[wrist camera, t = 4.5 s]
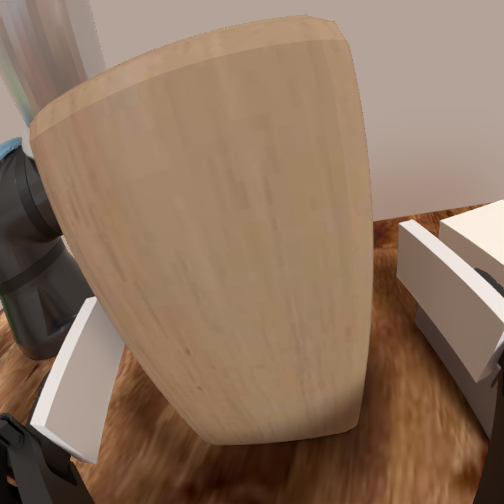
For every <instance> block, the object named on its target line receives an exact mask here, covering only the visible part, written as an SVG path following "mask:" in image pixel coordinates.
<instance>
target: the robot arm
mask: <svg viewBox="0 0 504 504" xmlns="http://www.w3.org/2000/svg"><path fill="white" fill-rule="evenodd" d="M106 70H107V68H106V65H105V61H104V57H103V54H102V50H101V46H100V43H99V39H98V35H97V31H96V26H95V22H94V18H93V14H92V9H91V5H90V1H89V0H0V75H1V77H2V79H3V81H4V83H5V85H6V87H7V89H8V91H9V93H10V95H11V97H12V99H13V101H14V103H15V105H16V107H17V108H18V110H19V112H20V114H21V116H22V117H23V119H24V121H25V123H26V127H25V130H24V133H23V137H22V138H21V137H17V138H13V139H11V140H8V141H6V142H4V143H2V144H0V300H1V302H2V305H3V308H4V312H5V315H6V318H7V320H8V323H9V326H10V328H11V331H12V333H13V337H14V340H15V342H16V343H17V345H18V346H19V347H20V349H21V350H22V351H23V353H24V354H25V355H26V356H27V357H29V358H31V359H35V360H41V359H47V358H50V357H53V356H55V355H57V358H56V360H55V362H54V364H53V367H52V368H51V369H50V370H49V372H48V373H47V374H46V376H45V377H44V380H43V382H42V384H41V389H39V392H38V394H37V395H38V397H36V399H35V402H34V404H33V407H32V410H31V412H30V415H29V418H28V421H27V424H26V426H25V427H24V426H23V425H22V424H20V423H19V422H18V421H17V420H16V419H15V418H14V417H12V416H11V415H10V414H9V413H3V414H1V415H0V504H95V503H94V501H93V499H92V497H91V496H90V494H89V492H88V490H87V488H86V486H85V484H84V482H83V481H82V479H81V477H80V474H79V472H78V470H77V468H76V466H75V465H74V463H73V462H71V461H70V458H71V455H72V456H73V457H75V458H76V459H78V460H79V461H81V462H85V463H91V464H97V459H98V453H99V448H100V443H101V438H102V433H103V428H104V424H105V419H106V415H107V410H108V406H109V402H110V398H111V394H112V390H113V386H114V382H115V379H116V375H117V371H118V368H119V364H120V361H121V357H122V354H123V350H124V347H125V343H124V341H123V340H122V338H121V337H120V335H119V334H118V332H117V331H116V329H115V328H114V326H113V324H112V323H111V321H110V320H109V318H108V316H107V315H106V313H105V312H104V310H103V308H102V307H101V305H100V303H99V301H98V300H97V298H96V296H95V295H94V293H93V291H92V289H91V288H90V286H89V284H88V282H87V280H86V278H85V277H84V275H83V273H82V271H81V269H80V267H79V265H78V263H77V261H76V259H75V258H74V257H73V256H72V255H71V254H70V253H69V252H68V250H67V249H66V247H65V245H64V243H63V241H62V238H61V236H62V235H64V234H63V232H62V230H61V228H60V225H59V223H58V221H57V218H56V216H55V214H54V211H53V209H52V206H51V204H50V201H49V199H48V196H47V194H46V191H45V188H44V186H43V183H42V180H41V177H40V174H39V172H38V169H37V166H36V163H35V159H34V156H33V153H32V150H31V146H30V143H29V137H30V123H31V122H32V121H33V119H34V118H35V116H36V115H37V114H38V113H39V112H40V111H41V110H42V109H43V108H44V107H45V106H46V105H47V104H49V103H50V102H51V101H53V100H54V99H56V98H58V97H59V96H61V95H62V94H64V93H66V92H67V91H69V90H71V89H72V88H74V87H76V86H78V85H79V84H81V83H83V82H85V81H87V80H88V79H90V78H92V77H94V76H96V75H98V74H100V73H102V72H104V71H106ZM396 277H397V278H398V279H399V280H400V281H401V283H402V284H403V285H404V286H405V287H406V289H407V290H408V291H409V292H410V293H411V295H412V296H413V297H414V298H415V300H416V301H417V302H418V303H419V305H420V306H421V307H422V308H423V310H424V311H425V312H426V313H427V315H428V316H429V317H430V319H431V320H432V321H433V323H434V324H435V325H436V326H437V328H438V329H439V330H440V332H441V333H442V334H443V336H444V337H445V339H446V340H447V341H448V343H449V344H450V345H451V347H452V348H453V350H454V351H455V352H456V354H457V355H458V357H459V358H460V360H461V361H462V363H463V364H464V365H465V367H466V368H467V370H468V371H469V373H470V374H471V376H472V377H473V379H474V381H475V382H476V383H477V382H479V381H480V380H482V379H483V378H485V377H486V376H488V375H489V374H491V373H492V371H493V369H494V367H495V366H496V364H497V363H498V364H499V365H500V367H501V369H500V370H499V372H498V373H497V375H496V377H495V378H494V380H493V381H492V384H491V387H490V388H493V387H494V385H495V384H496V382H497V381H498V386H497V387H496V388H497V398H496V407H495V414H494V421H493V427H492V433H491V438H490V443H489V448H488V453H487V457H486V461H485V465H484V469H483V473H482V476H481V479H480V483H479V486H478V489H477V492H476V495H475V498H474V501H473V504H504V288H503V287H502V286H501V285H500V284H499V283H497V281H496V280H495V279H494V278H493V277H492V276H491V275H489V274H488V273H487V272H485V271H483V270H481V269H479V268H475V269H473V268H472V267H471V266H469V265H468V264H467V263H466V262H465V261H464V260H463V259H461V258H460V257H459V256H458V255H457V254H456V253H454V252H453V251H452V250H451V249H450V248H448V247H447V246H446V245H445V244H444V243H442V242H441V241H440V240H439V239H437V238H436V237H435V236H434V235H432V234H431V233H430V232H429V231H427V230H426V229H425V228H423V227H422V226H421V225H419V224H418V223H417V222H416V221H414V220H410V221H406V222H402V223H399V240H398V261H397V276H396ZM7 476H8V477H10V478H12V479H13V480H15V481H16V483H17V487H15V486H13V485H12V484H10V483H8V482H7Z"/></svg>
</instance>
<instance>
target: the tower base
mask: <svg viewBox="0 0 504 504" xmlns="http://www.w3.org/2000/svg"><path fill="white" fill-rule="evenodd" d="M414 322H415V324H416V325H417V326H418V328H419V329H420V331H421V332H422V333H423V335H424V336H425V337H426V339H427V340H428V342H429V343H430V345H431V346H432V347H433V349H434V350H435V352H436V353H437V355H438V356H439V358H440V359H441V361H442V362H443V364H444V365H445V367H446V368H447V370H448V371H449V373H450V374H451V376H452V377H453V379H454V380H455V382H456V384H457V385H458V387H459V388H460V390H461V392H462V393H463V395H464V396H465V398H466V400H467V401H468V403H469V405H470V406H471V408H472V410H473V411H474V413H475V415H476V417H477V418H478V420H479V422H480V424H481V425H482V427H483V429H484V431H485V433H486V434H487V436H488V438H489V440H490V438H491V433H492V427H493V421H494V414H495V407H496V398H497V388H496V387H497V386H498V381H497V382H496V384H495V385H494V387H493V388H490V387H491V384H492V381H493V380H494V378H495V377H496V375H497V373H498V372H499V370H500V369H501V367H500V365H499V364H498V363H497V364H496V366H495V367H494V369H493V371H492V373H491V374H489V375H488V376H486V377H485V378H483V379H482V380H480V381H479V382H477V383H476V382H475V381H474V379H473V377H472V376H471V374H470V373H469V371H468V370H467V368H466V367H465V365H464V364H463V363H462V361H461V360H460V358H459V357H458V355H457V354H456V352H455V351H454V350H453V348H452V347H451V345H450V344H449V343H448V341H447V340H446V339H445V337H444V336H443V334H442V333H441V332H440V330H439V329H438V328H437V326H436V325H435V324H434V323H433V321H432V320H431V319H430V317H429V316H428V315H427V313H426V312H425V311H424V310H423V308H422V307H421V306H420V305H419V303H418V305H417V311H416V316H415V321H414Z"/></svg>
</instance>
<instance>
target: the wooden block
mask: <svg viewBox="0 0 504 504" xmlns="http://www.w3.org/2000/svg"><path fill="white" fill-rule="evenodd" d="M29 143H30V146H31V150H32V153H33V156H34V159H35V163H36V166H37V169H38V172H39V174H40V177H41V180H42V183H43V186H44V188H45V191H46V194H47V196H48V199H49V201H50V204H51V206H52V209H53V211H54V214H55V216H56V218H57V221H58V223H59V225H60V228H61V230H62V232H63V234H64V236H65V239H66V241H67V243H68V245H69V247H70V249H71V251H72V253H73V255H74V257H75V259H76V261H77V263H78V265H79V267H80V269H81V271H82V273H83V275H84V277H85V278H86V280H87V282H88V284H89V286H90V288H91V289H92V291H93V293H94V295H95V296H96V298H97V300H98V301H99V303H100V305H101V307H102V308H103V310H104V312H105V313H106V315H107V316H108V318H109V320H110V321H111V323H112V324H113V326H114V328H115V329H116V331H117V332H118V334H119V335H120V337H121V338H122V340H123V341H124V343H125V344H126V346H127V347H128V349H129V350H130V351H131V353H132V354H133V356H134V357H135V359H136V360H137V361H138V363H139V364H140V365H141V367H142V368H143V369H144V371H145V372H146V374H147V375H148V376H149V377H150V379H151V380H152V381H153V383H154V384H155V385H156V387H157V388H158V389H159V390H160V392H161V393H162V394H163V395H164V397H165V398H166V399H167V400H168V401H169V403H170V404H171V405H172V406H173V407H174V409H175V410H176V411H177V412H178V413H179V414H180V415H181V417H182V418H183V419H184V420H185V421H186V422H187V423H188V425H189V426H190V427H191V428H192V429H193V430H194V431H195V432H196V433H197V434H198V435H199V436H200V437H201V439H202V440H203V441H205V442H207V443H210V444H212V445H245V444H262V443H274V442H285V441H293V440H301V439H308V438H315V437H321V436H327V435H332V434H338V433H343V432H347V431H348V430H350V429H352V428H354V427H355V426H357V423H358V419H359V415H360V410H361V404H362V398H363V391H364V384H365V377H366V369H367V360H368V351H369V341H370V329H371V314H372V295H373V215H372V197H371V181H370V170H369V159H368V150H367V141H366V134H365V126H364V119H363V112H362V106H361V100H360V94H359V89H358V83H357V79H356V73H355V69H354V64H353V59H352V55H351V51H350V46H349V44H348V42H347V41H346V39H345V38H344V36H343V34H342V33H341V31H340V29H339V27H338V26H337V24H336V23H335V21H330V20H325V19H320V18H316V17H312V16H308V15H297V16H287V17H280V18H272V19H266V20H260V21H255V22H249V23H244V24H239V25H235V26H230V27H225V28H221V29H217V30H213V31H210V32H206V33H203V34H199V35H195V36H192V37H189V38H186V39H182V40H179V41H176V42H173V43H170V44H168V45H165V46H162V47H160V48H157V49H154V50H151V51H149V52H146V53H144V54H142V55H139V56H137V57H134V58H132V59H130V60H128V61H125V62H123V63H121V64H118V65H116V66H114V67H112V68H110V69H108V70H106V71H104V72H102V73H100V74H98V75H96V76H94V77H92V78H90V79H88V80H87V81H85V82H83V83H81V84H79V85H78V86H76V87H74V88H72V89H71V90H69V91H67V92H66V93H64V94H62V95H61V96H59V97H58V98H56V99H54V100H53V101H51V102H50V103H49V104H47V105H46V106H45V107H44V108H43V109H42V110H41V111H40V112H39V113H38V114H37V115H36V116H35V118H34V119H33V121H32V122H31V123H30V137H29Z"/></svg>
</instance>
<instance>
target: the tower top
mask: <svg viewBox="0 0 504 504" xmlns="http://www.w3.org/2000/svg"><path fill="white" fill-rule="evenodd" d="M439 240H440V241H441V242H442V243H444V244H445V245H446V246H447V247H448V248H450V249H451V250H452V251H453V252H454V253H456V254H457V255H458V256H459V257H460V258H461V259H463V260H464V261H465V262H466V263H467V264H468V265H469V266H471V267H472V268H473V269H475V268H479V269H481V270H483V271H485V272H487V273H488V274H489V275H491V276H492V277H493V278H494V279H495V280H496V281H497V283H499V284H500V285H501V286H502V287H503V288H504V200H500V201H498V202H495V203H492V204H489V205H486V206H483V207H480V208H477V209H474V210H471V211H468V212H465V213H462V214H459V215H456V216H453V217H450V218H447V219H444V220H440V229H439Z"/></svg>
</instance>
